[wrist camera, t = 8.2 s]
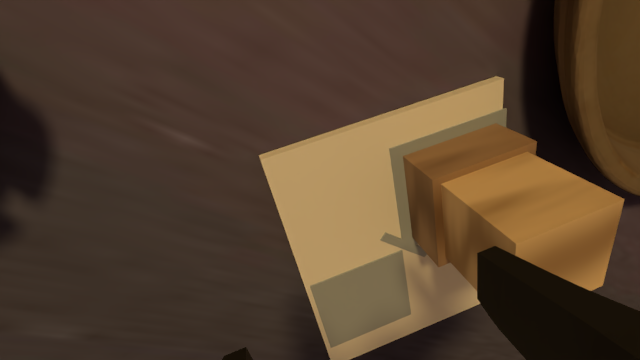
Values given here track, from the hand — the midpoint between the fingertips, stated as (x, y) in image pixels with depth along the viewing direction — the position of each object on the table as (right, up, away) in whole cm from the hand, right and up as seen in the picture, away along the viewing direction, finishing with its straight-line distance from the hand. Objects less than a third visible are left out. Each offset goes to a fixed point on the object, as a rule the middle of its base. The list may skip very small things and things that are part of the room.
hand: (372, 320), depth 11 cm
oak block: (+7, +3, +9) cm, 12 cm away
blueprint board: (+4, 0, +13) cm, 14 cm away
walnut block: (+7, +4, +12) cm, 14 cm away
